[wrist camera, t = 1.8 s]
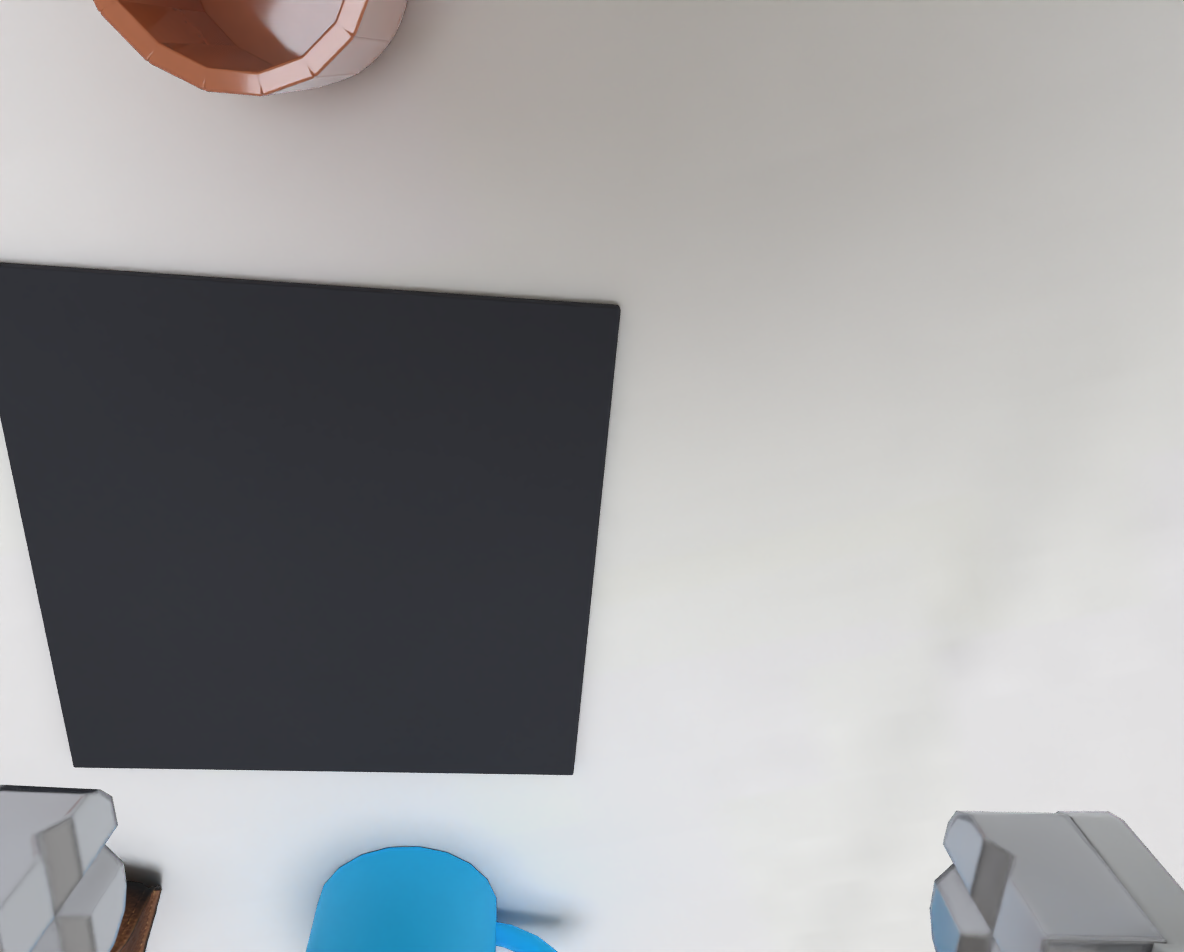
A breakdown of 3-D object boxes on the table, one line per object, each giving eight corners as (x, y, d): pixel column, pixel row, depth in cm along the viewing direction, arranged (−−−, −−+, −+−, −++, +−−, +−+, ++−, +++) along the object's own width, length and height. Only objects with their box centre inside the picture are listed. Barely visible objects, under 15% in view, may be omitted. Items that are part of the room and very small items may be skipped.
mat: (-24, 260, 27) (-33, 263, 27) (619, 304, 29) (620, 308, 29) (79, 759, 36) (73, 767, 35) (572, 767, 38) (573, 775, 37)
